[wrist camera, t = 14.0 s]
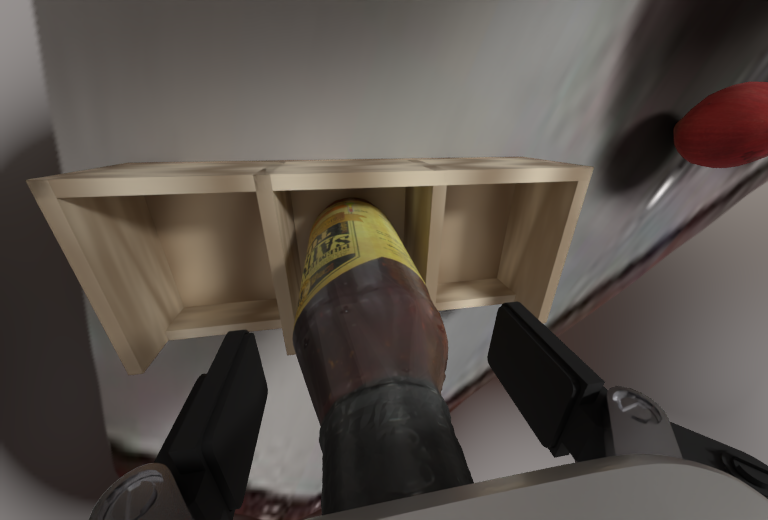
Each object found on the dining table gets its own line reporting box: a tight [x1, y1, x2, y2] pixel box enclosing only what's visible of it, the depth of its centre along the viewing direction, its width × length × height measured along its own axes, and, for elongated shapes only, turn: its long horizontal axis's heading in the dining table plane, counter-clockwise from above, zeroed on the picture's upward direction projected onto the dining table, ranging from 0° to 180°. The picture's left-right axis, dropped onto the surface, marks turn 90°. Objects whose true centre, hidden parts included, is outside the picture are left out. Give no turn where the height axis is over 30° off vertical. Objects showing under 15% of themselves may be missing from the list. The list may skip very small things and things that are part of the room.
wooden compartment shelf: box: [26, 157, 594, 375], centre depth 20 cm, size 29×12×7 cm, turn 90°
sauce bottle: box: [292, 198, 474, 516], centre depth 13 cm, size 7×6×20 cm
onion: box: [673, 82, 768, 168], centre depth 21 cm, size 6×6×8 cm
